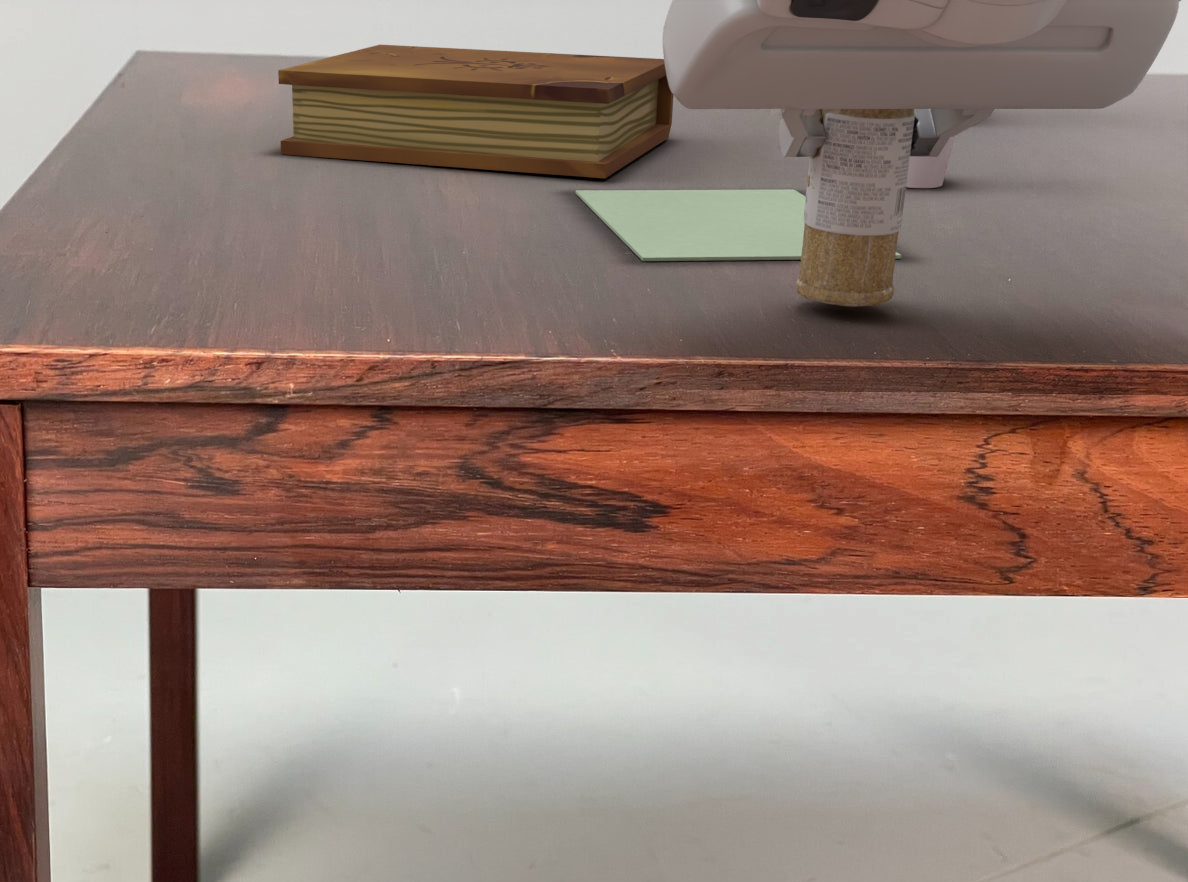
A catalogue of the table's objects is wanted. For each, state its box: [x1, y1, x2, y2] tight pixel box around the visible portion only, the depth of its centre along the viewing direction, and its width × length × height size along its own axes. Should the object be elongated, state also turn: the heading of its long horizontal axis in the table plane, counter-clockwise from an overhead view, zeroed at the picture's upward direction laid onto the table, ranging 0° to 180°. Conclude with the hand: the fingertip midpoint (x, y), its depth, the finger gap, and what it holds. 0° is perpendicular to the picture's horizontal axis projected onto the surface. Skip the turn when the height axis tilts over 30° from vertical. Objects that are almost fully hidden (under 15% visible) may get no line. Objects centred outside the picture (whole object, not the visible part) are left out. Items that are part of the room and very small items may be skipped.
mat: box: [575, 189, 902, 262], centre depth 93 cm, size 18×14×1 cm
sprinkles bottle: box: [795, 109, 915, 308], centre depth 73 cm, size 5×5×13 cm
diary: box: [277, 44, 674, 179], centre depth 115 cm, size 23×19×6 cm
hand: (855, 144), depth 73 cm, fingers closed on sprinkles bottle, 4 cm apart
